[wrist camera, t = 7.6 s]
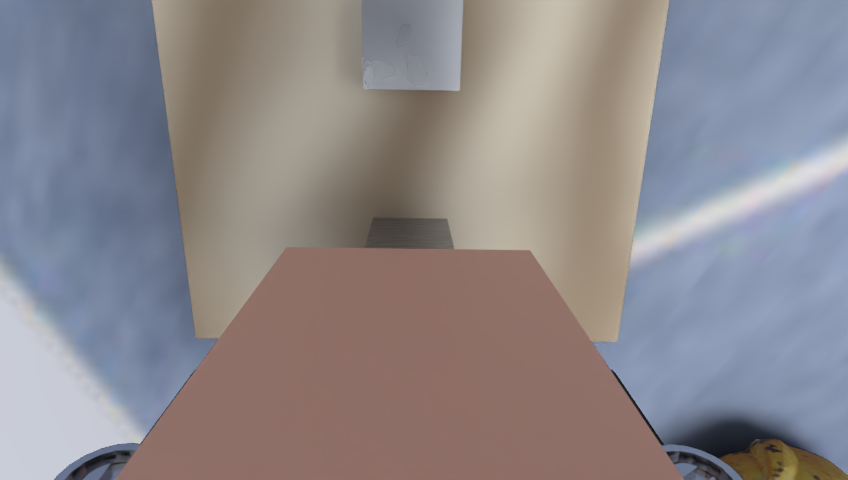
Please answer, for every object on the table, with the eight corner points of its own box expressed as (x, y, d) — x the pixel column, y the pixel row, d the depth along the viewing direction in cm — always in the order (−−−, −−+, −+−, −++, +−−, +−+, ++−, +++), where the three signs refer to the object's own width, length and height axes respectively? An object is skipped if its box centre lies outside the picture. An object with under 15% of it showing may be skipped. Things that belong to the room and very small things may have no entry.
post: (447, 218, 18) (464, 293, 12) (444, 286, 19) (460, 390, 13) (373, 217, 18) (351, 292, 12) (373, 286, 19) (354, 390, 13)
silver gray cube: (454, 0, 16) (463, -17, 13) (451, 88, 17) (459, 90, 14) (370, -2, 16) (361, -19, 13) (371, 86, 17) (363, 88, 14)
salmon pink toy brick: (530, 250, 11) (686, 483, 5) (512, 450, 13) (611, 824, 6) (286, 247, 11) (112, 482, 5) (299, 449, 12) (183, 831, 6)
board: (667, -34, 16) (674, -37, 16) (612, 335, 20) (617, 341, 20) (153, -48, 16) (145, -52, 15) (201, 331, 20) (195, 338, 19)
